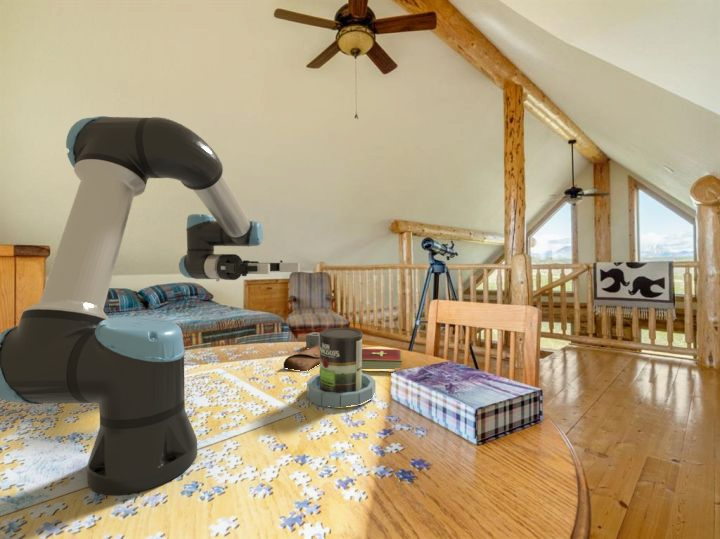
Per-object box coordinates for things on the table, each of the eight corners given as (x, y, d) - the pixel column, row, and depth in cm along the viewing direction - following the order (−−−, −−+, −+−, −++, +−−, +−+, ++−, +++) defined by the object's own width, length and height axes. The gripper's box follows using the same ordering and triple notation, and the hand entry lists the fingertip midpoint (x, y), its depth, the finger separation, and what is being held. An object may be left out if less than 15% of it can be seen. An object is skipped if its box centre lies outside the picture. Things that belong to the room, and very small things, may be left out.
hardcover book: (335, 359, 116) (335, 346, 116) (400, 361, 114) (401, 348, 114) (328, 372, 104) (328, 357, 104) (401, 374, 102) (402, 359, 102)
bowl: (384, 403, 82) (384, 390, 82) (313, 412, 77) (313, 398, 77) (363, 379, 97) (363, 368, 97) (303, 385, 92) (303, 373, 92)
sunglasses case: (307, 373, 101) (297, 351, 103) (290, 382, 104) (280, 361, 105) (338, 356, 118) (329, 338, 119) (322, 364, 120) (314, 346, 122)
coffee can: (340, 403, 80) (340, 340, 79) (310, 390, 87) (310, 332, 86) (371, 390, 87) (371, 332, 87) (341, 379, 94) (341, 326, 94)
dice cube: (306, 348, 127) (306, 334, 127) (313, 345, 132) (313, 332, 131) (318, 350, 125) (318, 336, 125) (325, 347, 130) (325, 333, 130)
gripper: (253, 277, 118) (309, 279, 109) (189, 282, 95) (254, 285, 86) (253, 254, 118) (309, 254, 109) (189, 253, 95) (253, 253, 86)
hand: (285, 268), depth 98 cm, fingers open, 13 cm apart
